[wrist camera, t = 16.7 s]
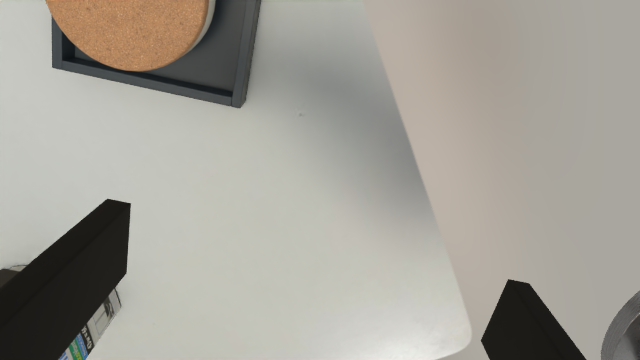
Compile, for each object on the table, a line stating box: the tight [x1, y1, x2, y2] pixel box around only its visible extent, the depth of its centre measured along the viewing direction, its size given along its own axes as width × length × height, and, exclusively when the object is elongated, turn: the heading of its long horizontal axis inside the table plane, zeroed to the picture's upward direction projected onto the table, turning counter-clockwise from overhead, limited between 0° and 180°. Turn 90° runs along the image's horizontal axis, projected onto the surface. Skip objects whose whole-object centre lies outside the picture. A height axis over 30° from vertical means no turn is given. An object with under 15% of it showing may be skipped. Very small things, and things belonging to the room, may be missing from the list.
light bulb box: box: [10, 266, 121, 360], centre depth 41 cm, size 11×7×11 cm, turn 97°
